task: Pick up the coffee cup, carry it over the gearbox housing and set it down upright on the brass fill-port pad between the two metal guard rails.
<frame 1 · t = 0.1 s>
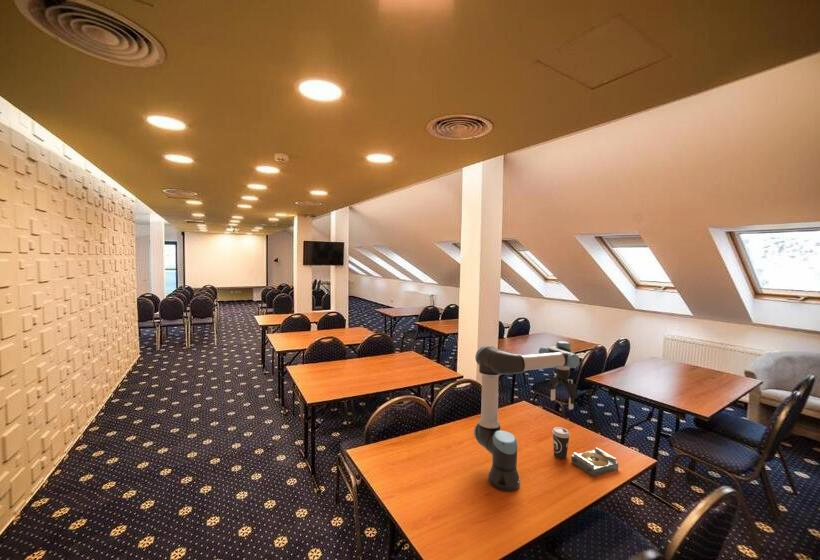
hand: (561, 404, 199), 28 cm above the table, fingers open, 13 cm apart
coffee cup: (560, 456, 195), on the table
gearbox: (594, 466, 186), on the table
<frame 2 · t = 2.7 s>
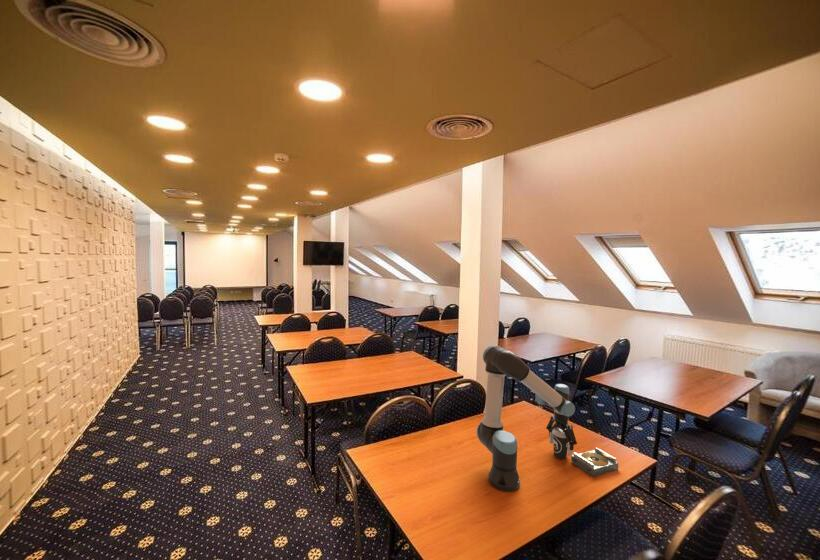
hand: (560, 449, 195), 4 cm above the table, fingers open, 13 cm apart
nothing on the table moved.
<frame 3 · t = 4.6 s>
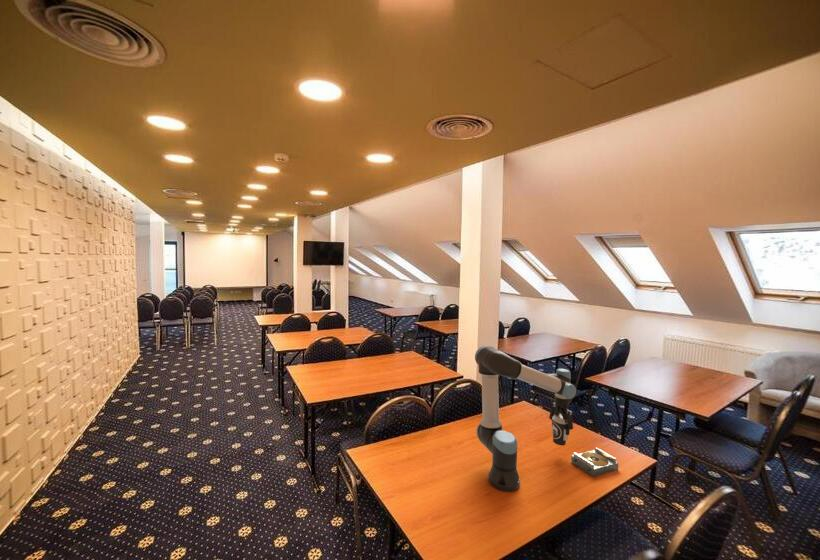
hand: (559, 436, 195), 12 cm above the table, fingers closed on coffee cup, 8 cm apart
coffee cup: (559, 442, 195), point 8 cm above the table, touching gripper
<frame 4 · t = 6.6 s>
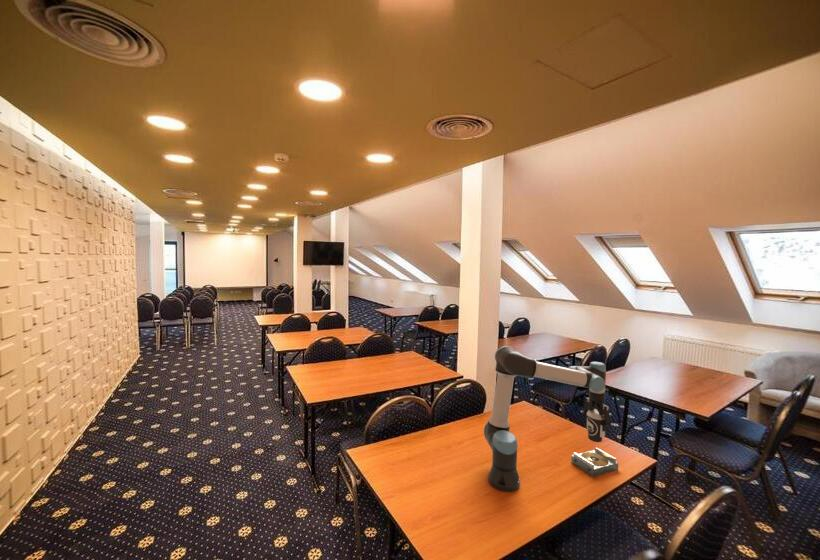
hand: (595, 432, 185), 18 cm above the table, fingers closed on coffee cup, 8 cm apart
coffee cup: (594, 439, 185), point 15 cm above the table, touching gripper
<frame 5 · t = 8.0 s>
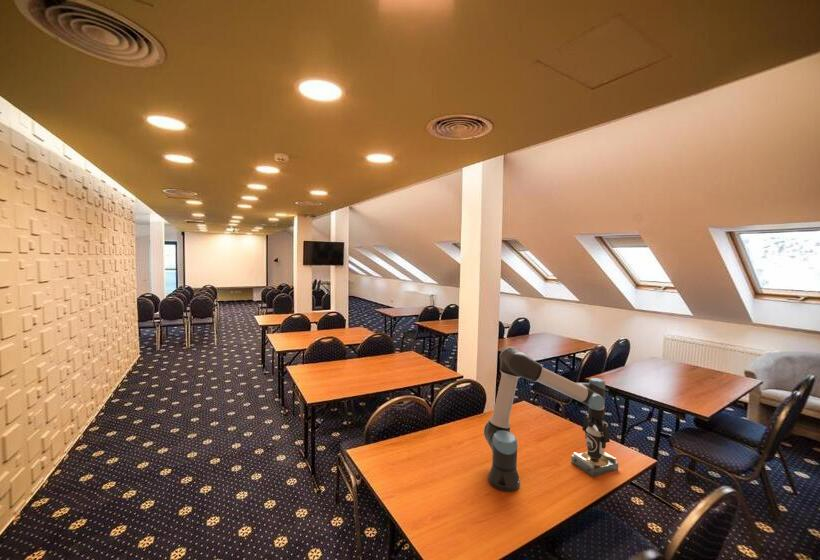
hand: (595, 449, 185), 9 cm above the table, fingers closed on coffee cup, 8 cm apart
coffee cup: (594, 455, 186), point 6 cm above the table, touching gripper
when the fingers open (8 cm above the table, at t = 9.1 s): coffee cup stays where it is, resting on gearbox.
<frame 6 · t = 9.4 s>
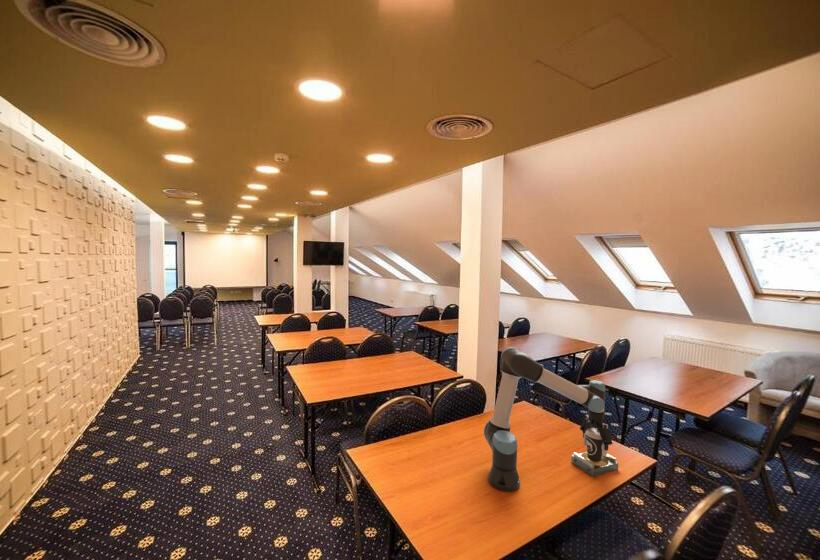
hand: (594, 450, 185), 9 cm above the table, fingers open, 11 cm apart
coffee cup: (594, 458, 186), point 4 cm above the table, touching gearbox
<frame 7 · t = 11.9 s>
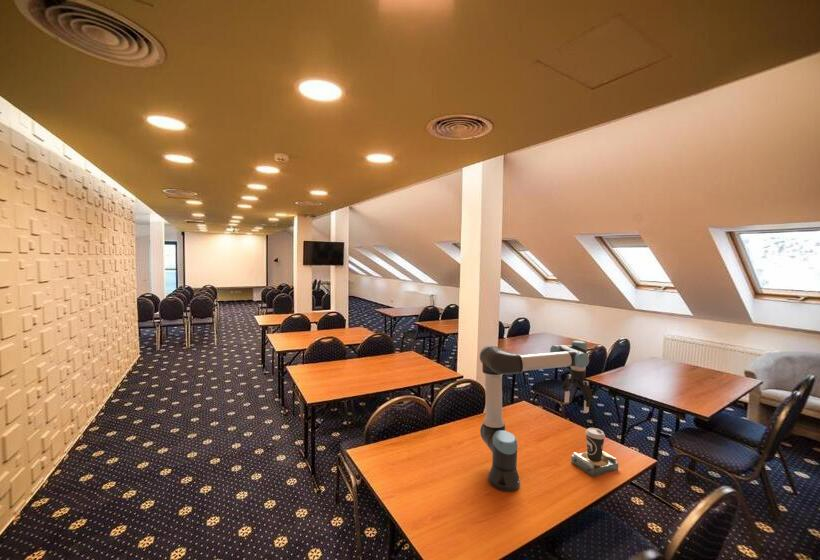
hand: (576, 407, 190), 30 cm above the table, fingers open, 13 cm apart
nothing on the table moved.
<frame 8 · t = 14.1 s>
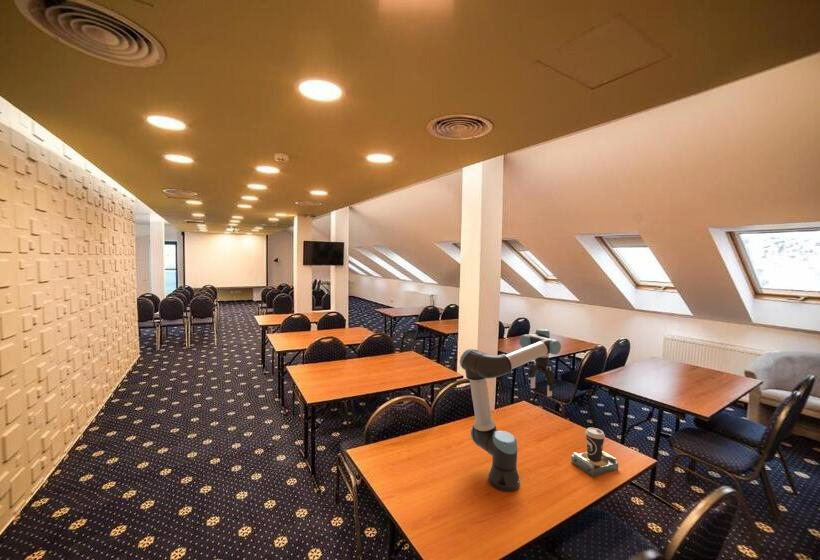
hand: (540, 392, 200), 35 cm above the table, fingers open, 13 cm apart
nothing on the table moved.
at the end: coffee cup inside the target area on the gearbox (0.2 cm from its centre), point 4.1 cm above the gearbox's base; coffee cup tilted 1°; the gripper is holding nothing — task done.
